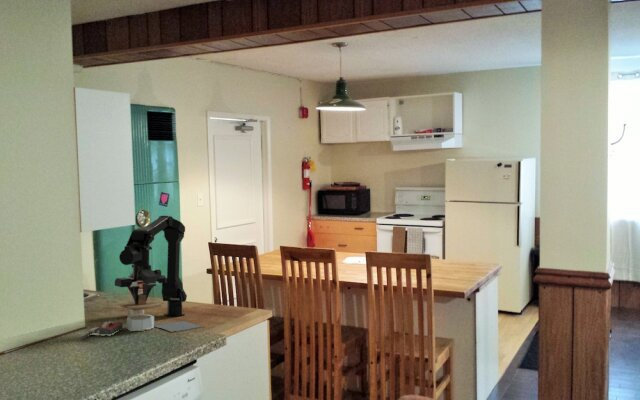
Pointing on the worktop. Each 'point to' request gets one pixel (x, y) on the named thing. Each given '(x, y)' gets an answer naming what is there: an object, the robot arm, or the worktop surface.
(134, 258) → the robot arm
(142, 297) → the lid
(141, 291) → the aerosol can
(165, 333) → the worktop surface
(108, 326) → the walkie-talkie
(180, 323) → the mat
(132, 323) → the bowl
